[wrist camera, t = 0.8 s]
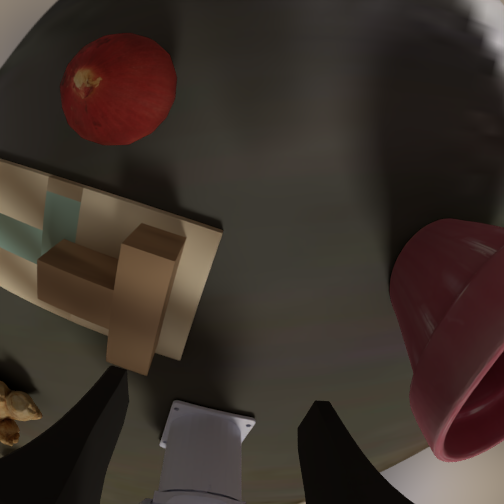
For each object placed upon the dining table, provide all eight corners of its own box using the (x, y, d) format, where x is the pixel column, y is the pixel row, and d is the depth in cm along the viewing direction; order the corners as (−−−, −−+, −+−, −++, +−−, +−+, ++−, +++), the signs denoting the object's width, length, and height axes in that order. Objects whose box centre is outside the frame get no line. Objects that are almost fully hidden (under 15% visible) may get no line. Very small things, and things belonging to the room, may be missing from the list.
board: (181, 355, 23) (180, 360, 22) (-7, 277, 20) (-11, 280, 20) (223, 230, 19) (222, 233, 19) (-5, 157, 16) (-10, 158, 16)
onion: (86, 124, 16) (4, 132, 9) (122, 41, 14) (54, 3, 7) (164, 154, 17) (110, 175, 10) (205, 67, 15) (176, 25, 8)
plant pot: (517, 229, 20) (615, 296, 8) (442, 355, 24) (503, 451, 13) (414, 147, 17) (576, 195, 5) (323, 322, 22) (374, 475, 10)
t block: (157, 344, 22) (146, 375, 19) (60, 306, 20) (39, 332, 17) (186, 237, 19) (174, 261, 15) (68, 198, 17) (39, 213, 14)
